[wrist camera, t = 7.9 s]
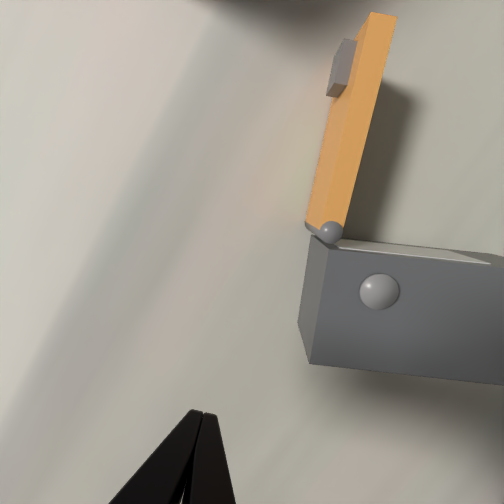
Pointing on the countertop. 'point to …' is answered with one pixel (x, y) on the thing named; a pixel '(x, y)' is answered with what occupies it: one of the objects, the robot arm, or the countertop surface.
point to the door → (348, 124)
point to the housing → (404, 310)
